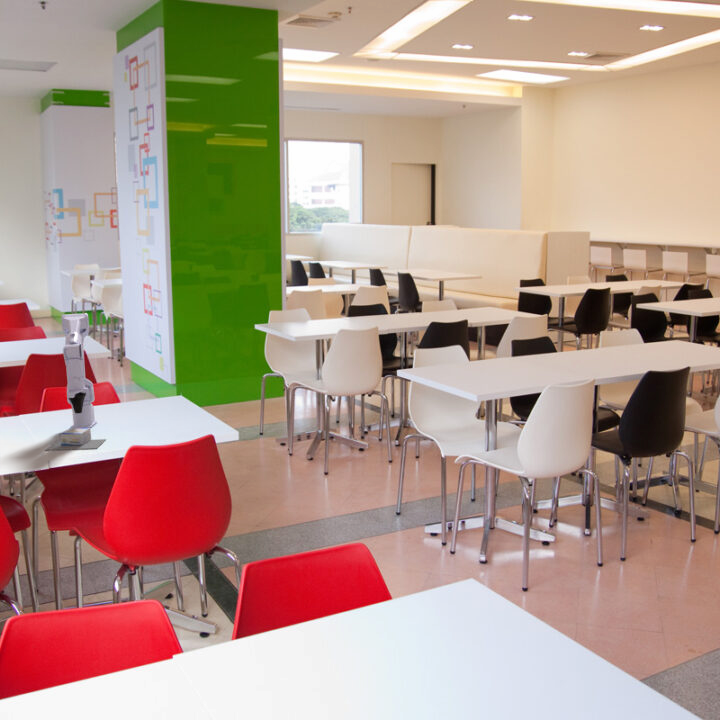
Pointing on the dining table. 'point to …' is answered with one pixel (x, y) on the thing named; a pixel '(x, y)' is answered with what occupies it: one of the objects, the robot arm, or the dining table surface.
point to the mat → (88, 445)
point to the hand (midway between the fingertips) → (78, 413)
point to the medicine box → (75, 436)
